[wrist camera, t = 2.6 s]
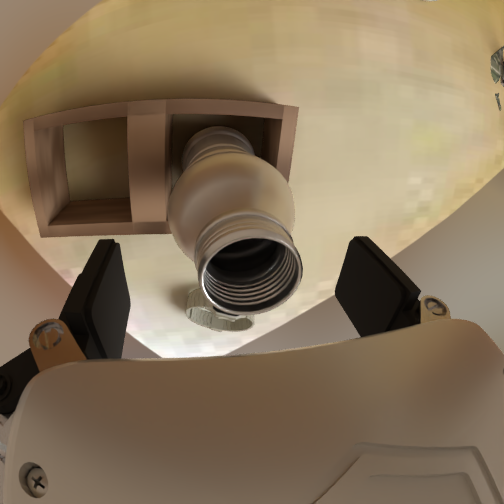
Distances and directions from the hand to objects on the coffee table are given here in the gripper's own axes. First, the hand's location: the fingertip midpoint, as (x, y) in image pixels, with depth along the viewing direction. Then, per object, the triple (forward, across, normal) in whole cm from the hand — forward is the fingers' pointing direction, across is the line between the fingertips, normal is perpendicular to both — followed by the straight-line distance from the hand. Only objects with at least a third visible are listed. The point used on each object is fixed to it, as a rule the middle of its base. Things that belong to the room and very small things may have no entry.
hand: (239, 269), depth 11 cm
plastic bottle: (+19, 0, -1) cm, 19 cm away
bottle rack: (+19, +6, -1) cm, 20 cm away
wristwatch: (+20, -2, +19) cm, 27 cm away
